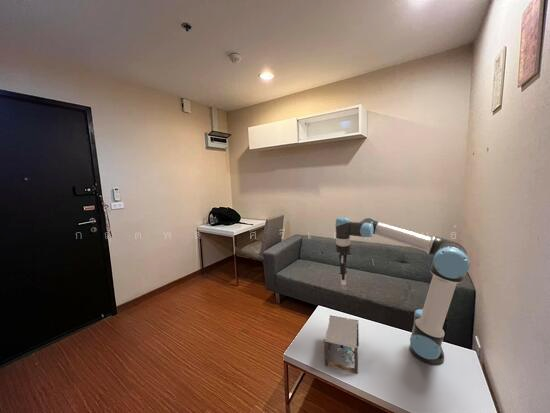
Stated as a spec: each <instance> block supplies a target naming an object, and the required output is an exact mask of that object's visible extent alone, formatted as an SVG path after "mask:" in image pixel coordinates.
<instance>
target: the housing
mask: <svg viewBox="0 0 550 413" xmlns="http://www.w3.org/2000/svg"><path fill="white" fill-rule="evenodd" d="M329 321H330V317H329ZM359 335H360V334H359V322H357V346H356V348H353V350H354V356H353V361H354V367H350V366H347V365H343V364H338V363H336V362H332V361H329V353H330V349H331V348H330V347H331V344H332V343H330V342H326V341H325V338H324V340H323V344H324V345H323V349H324V350H323V353H324V354H323V355H324V356H323V357H324V366H326V367H327V366H329V367H333V368H335V369H340V370H344V371H348V372H352V373H354V374H357V375H358V373H359V372H358V371H359V370H358V369H359V364H358V363H359V361H358V360H359V359H358V357H359V356H358V355H359V353H358V351H359V349H358V348H359V345H360V344H359V341H360V340H359Z"/></svg>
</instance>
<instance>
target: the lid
mask: <svg viewBox="0 0 550 413" xmlns="http://www.w3.org/2000/svg"><path fill="white" fill-rule="evenodd" d="M329 318H330V321H329V322H328V326H327V330H326V335H325V338H324V339H325V341H326V342H330V343H331V344H335V345H338V346H340V345H344V346H345V347H348V348H349V347H352V349H354V348H356V346H357V323H359V319H353V318H349V317H348V318H347V317H341V316H334V315H329ZM344 346H343V347H344Z"/></svg>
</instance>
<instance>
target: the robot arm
mask: <svg viewBox="0 0 550 413" xmlns="http://www.w3.org/2000/svg"><path fill="white" fill-rule="evenodd" d="M373 235H376V236H379V237H382V238H384V239H388V240H391V241H392V242H393V241H394V242H397V243H400V244H403V245H406V246H409V247H412V248H415V249H418V250H421V251H423V252H426V253H427V255H430V256H432V258H433V260H432V263H431V265H430V273H431V274H432V278H431V281H430V284H429V288H428V292H427V295H426V298H425V301H424V305H423V307H422V308H421V309H419V308H418V309H416V310H414V314H413V316H414V318H413V319H414V320H413V326H412V331H411V335H410V338H409V343H410V344H409V350H410V353H411V354H412V355H413V356H414V357H415V358H416V359H417V360H420V361H421V362H423V363H425V364H429V365H434V366H438V365H441V364H443V363H444V362H445V352H444V350H443V347H442V344H443V341H444V337H445V335H446V334H445V333H446V332H445V331H444V329H443V327H444V324H445V320H446V317H447V314H448V311H449V310H450V309H449V308H450V305H451V303H452V299H453V296H454V293H455V290H456V287H457V285H458V284H460V283H463V281H464V278H465V275H466V274H467V273H468V271H469V270H470V266H471V265H470V264H471V263H470V260H469V256H468V253H467V251H466V249H465V247H464V246H463V245H462V244H460V243H458V242H456V241H454V240H450V239H447V238H443V237H440V236H435V235H433V236H428V235H425V234H421V233H419V232H415V231H412V230H408V229H405V228H401V227H398V226H395V225H391V224H388V223H384V222H380V221H378V220H376V219H374V218H372V217H366V218H364V219H363V220H361V221H359V222H356V221H355V222H354V221H351V220H350V218H349V217H343V216H340V217H337V218H336V219H335V238H334V241H335V244H336V245H335V250H336V251H335V252H337V253H339V255H338V257H339V265H340V266H339V267H340V272H339V274H340V285H341V286H342V285H343V286H346V285H347V273H348V271H347V257H348V253H350V251H351V245H350V244H351V238H350V237H351V236H352V237H359V238H371V237H373Z"/></svg>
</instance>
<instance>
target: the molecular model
mask: <svg viewBox="0 0 550 413" xmlns="http://www.w3.org/2000/svg"><path fill="white" fill-rule="evenodd" d="M340 349H342V350H343V351H344V353H342V355H341V356H342V357H343V358H344V357H345V355H346V356H347V358H346V359H345V360H344V361H345V362H346V363H348V362H349V361H351V363H352V364H354V359H352V357H354V349H353V347H348V349H347V350H346V349H345V348H344V345H339V347H337V351H340ZM349 352H352V353H351V355H349Z"/></svg>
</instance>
